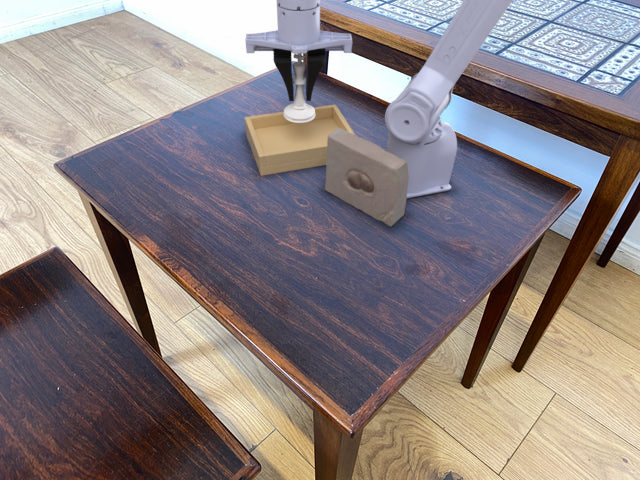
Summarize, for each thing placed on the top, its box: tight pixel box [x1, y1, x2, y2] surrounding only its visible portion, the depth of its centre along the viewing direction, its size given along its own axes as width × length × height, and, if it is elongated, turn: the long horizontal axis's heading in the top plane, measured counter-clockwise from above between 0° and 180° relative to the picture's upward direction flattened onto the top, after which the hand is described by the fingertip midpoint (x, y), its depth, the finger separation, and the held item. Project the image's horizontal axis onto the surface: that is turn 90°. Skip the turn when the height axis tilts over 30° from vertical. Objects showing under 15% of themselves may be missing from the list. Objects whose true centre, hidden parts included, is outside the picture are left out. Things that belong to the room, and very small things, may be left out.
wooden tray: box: [244, 104, 356, 177], centre depth 80 cm, size 16×12×4 cm
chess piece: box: [283, 53, 316, 123], centre depth 74 cm, size 5×5×10 cm
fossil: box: [324, 128, 409, 228], centre depth 68 cm, size 12×4×10 cm, turn 49°
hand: (299, 97), depth 75 cm, fingers closed on chess piece
